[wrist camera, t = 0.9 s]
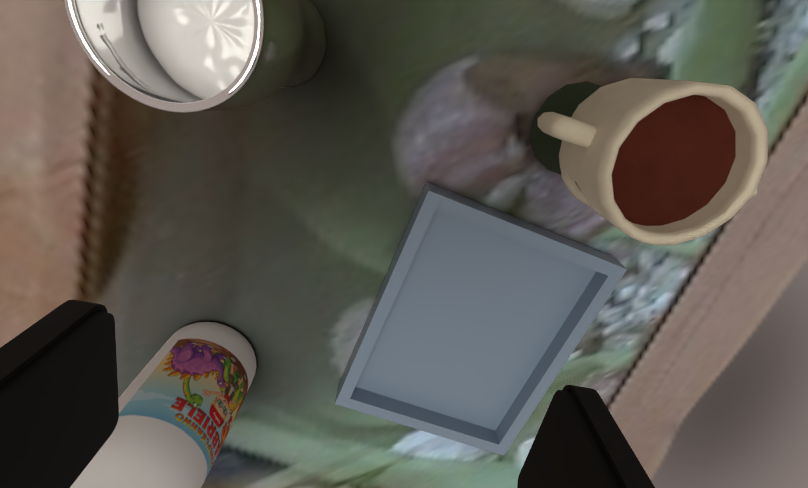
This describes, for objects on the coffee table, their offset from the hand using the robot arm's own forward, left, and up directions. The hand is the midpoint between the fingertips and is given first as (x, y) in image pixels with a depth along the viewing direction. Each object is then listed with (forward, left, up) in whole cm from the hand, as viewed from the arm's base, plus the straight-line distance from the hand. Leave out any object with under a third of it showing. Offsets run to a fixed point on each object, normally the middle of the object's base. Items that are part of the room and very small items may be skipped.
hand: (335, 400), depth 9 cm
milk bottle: (+18, +14, -24) cm, 33 cm away
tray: (-4, +15, -24) cm, 28 cm away
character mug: (-14, 0, -24) cm, 28 cm away
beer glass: (+5, -9, -24) cm, 26 cm away
